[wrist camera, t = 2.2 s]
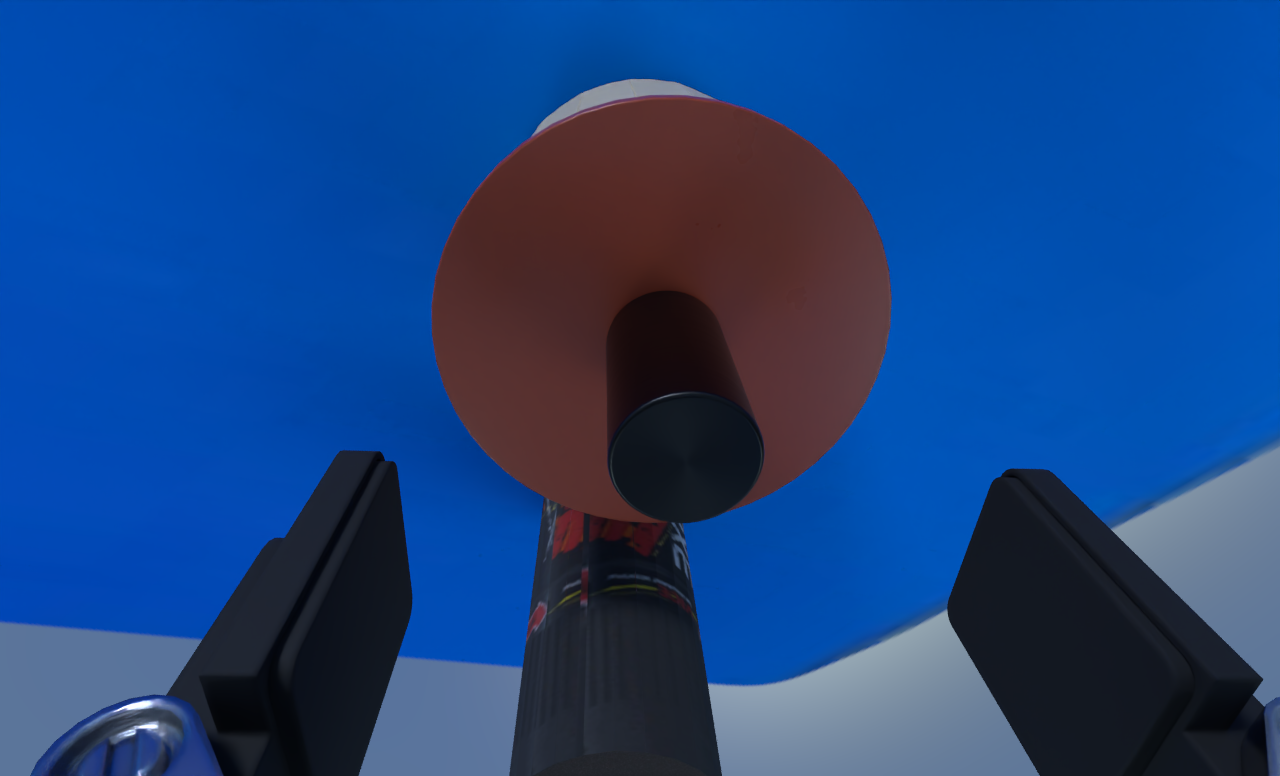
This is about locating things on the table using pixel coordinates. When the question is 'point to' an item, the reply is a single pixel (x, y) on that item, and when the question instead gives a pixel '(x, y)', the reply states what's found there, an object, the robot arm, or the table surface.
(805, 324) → the lid
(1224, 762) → the robot arm
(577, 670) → the deodorant
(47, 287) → the table surface
